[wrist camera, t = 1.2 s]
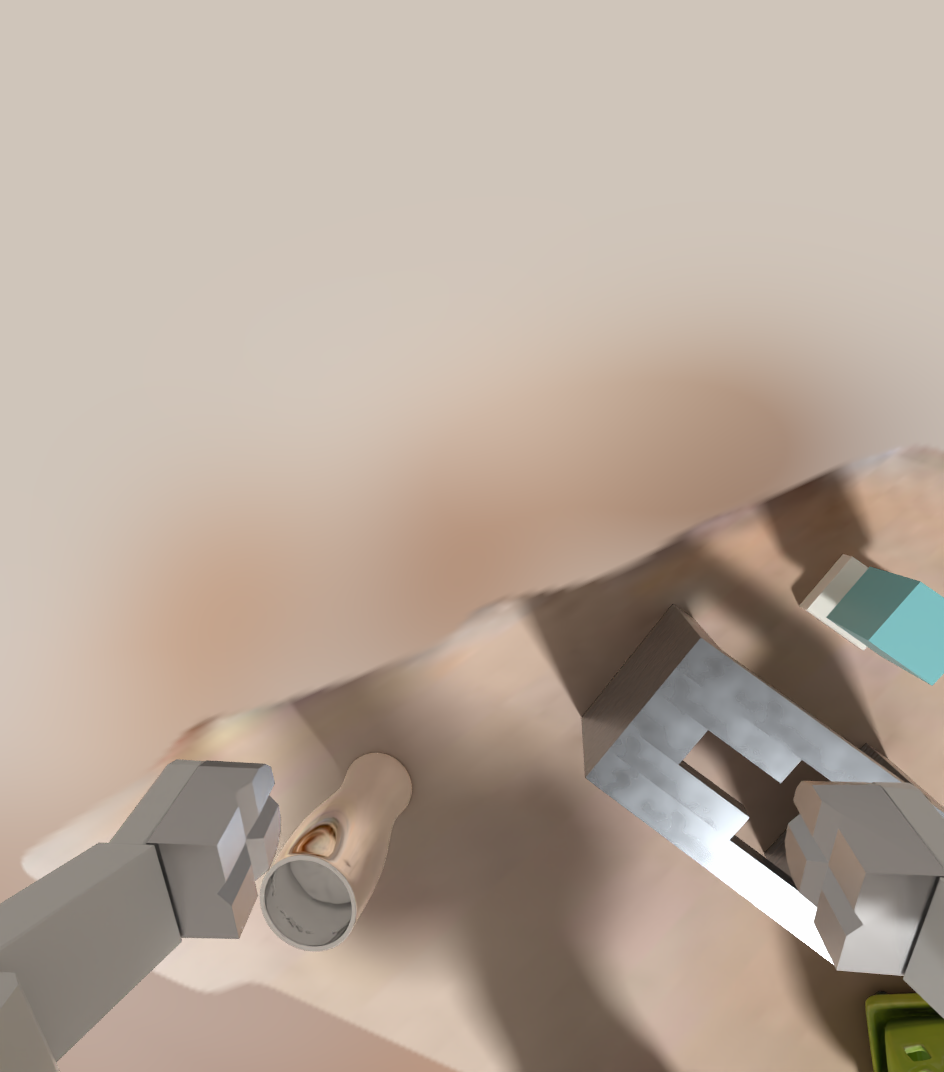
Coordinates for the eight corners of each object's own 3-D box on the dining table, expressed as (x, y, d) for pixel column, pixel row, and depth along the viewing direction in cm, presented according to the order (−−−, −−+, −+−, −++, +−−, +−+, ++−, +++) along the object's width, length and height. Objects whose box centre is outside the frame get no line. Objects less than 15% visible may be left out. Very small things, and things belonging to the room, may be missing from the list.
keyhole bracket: (888, 758, 46) (975, 835, 36) (784, 869, 48) (841, 970, 38) (672, 603, 48) (700, 637, 38) (581, 717, 50) (585, 777, 40)
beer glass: (328, 764, 54) (237, 874, 39) (395, 735, 52) (328, 837, 38) (363, 833, 54) (286, 969, 39) (431, 805, 52) (378, 935, 38)
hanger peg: (899, 593, 45) (992, 626, 35) (854, 644, 46) (932, 691, 36) (843, 553, 45) (919, 575, 35) (798, 605, 46) (862, 641, 36)
